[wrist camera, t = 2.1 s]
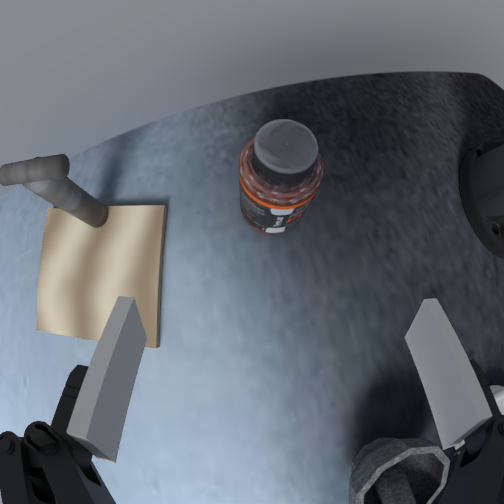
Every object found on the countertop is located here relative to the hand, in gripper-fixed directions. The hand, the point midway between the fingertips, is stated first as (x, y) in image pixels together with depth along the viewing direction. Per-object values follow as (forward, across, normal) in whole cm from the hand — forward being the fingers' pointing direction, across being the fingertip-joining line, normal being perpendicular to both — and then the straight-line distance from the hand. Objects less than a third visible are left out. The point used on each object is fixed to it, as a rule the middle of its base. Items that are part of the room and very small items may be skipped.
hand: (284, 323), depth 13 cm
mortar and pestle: (-2, +12, -22) cm, 25 cm away
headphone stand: (+12, -17, -8) cm, 22 cm away
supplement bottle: (+17, 0, -3) cm, 17 cm away
